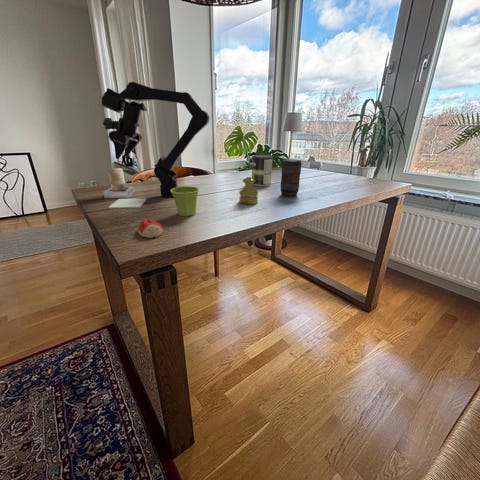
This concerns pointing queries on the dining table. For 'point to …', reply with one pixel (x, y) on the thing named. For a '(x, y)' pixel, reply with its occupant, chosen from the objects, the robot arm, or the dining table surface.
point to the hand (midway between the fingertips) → (121, 157)
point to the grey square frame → (119, 193)
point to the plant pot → (185, 199)
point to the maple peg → (117, 179)
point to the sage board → (127, 203)
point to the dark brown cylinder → (290, 177)
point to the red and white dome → (150, 228)
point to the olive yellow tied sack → (248, 192)
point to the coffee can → (262, 169)
